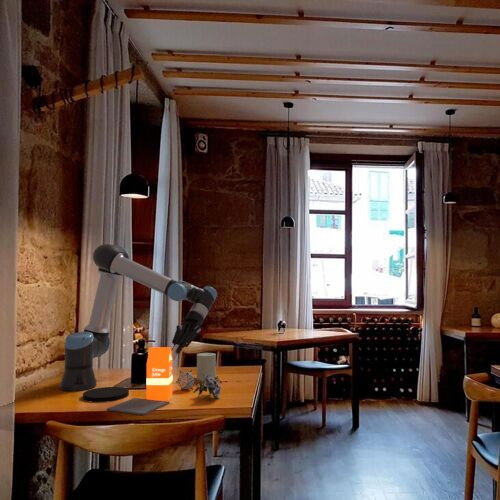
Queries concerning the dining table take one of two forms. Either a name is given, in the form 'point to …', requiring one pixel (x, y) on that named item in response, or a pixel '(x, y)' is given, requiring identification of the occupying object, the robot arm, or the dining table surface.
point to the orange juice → (159, 374)
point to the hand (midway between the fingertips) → (171, 359)
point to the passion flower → (209, 386)
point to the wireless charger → (105, 394)
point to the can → (206, 365)
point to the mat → (138, 406)
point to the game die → (186, 380)
